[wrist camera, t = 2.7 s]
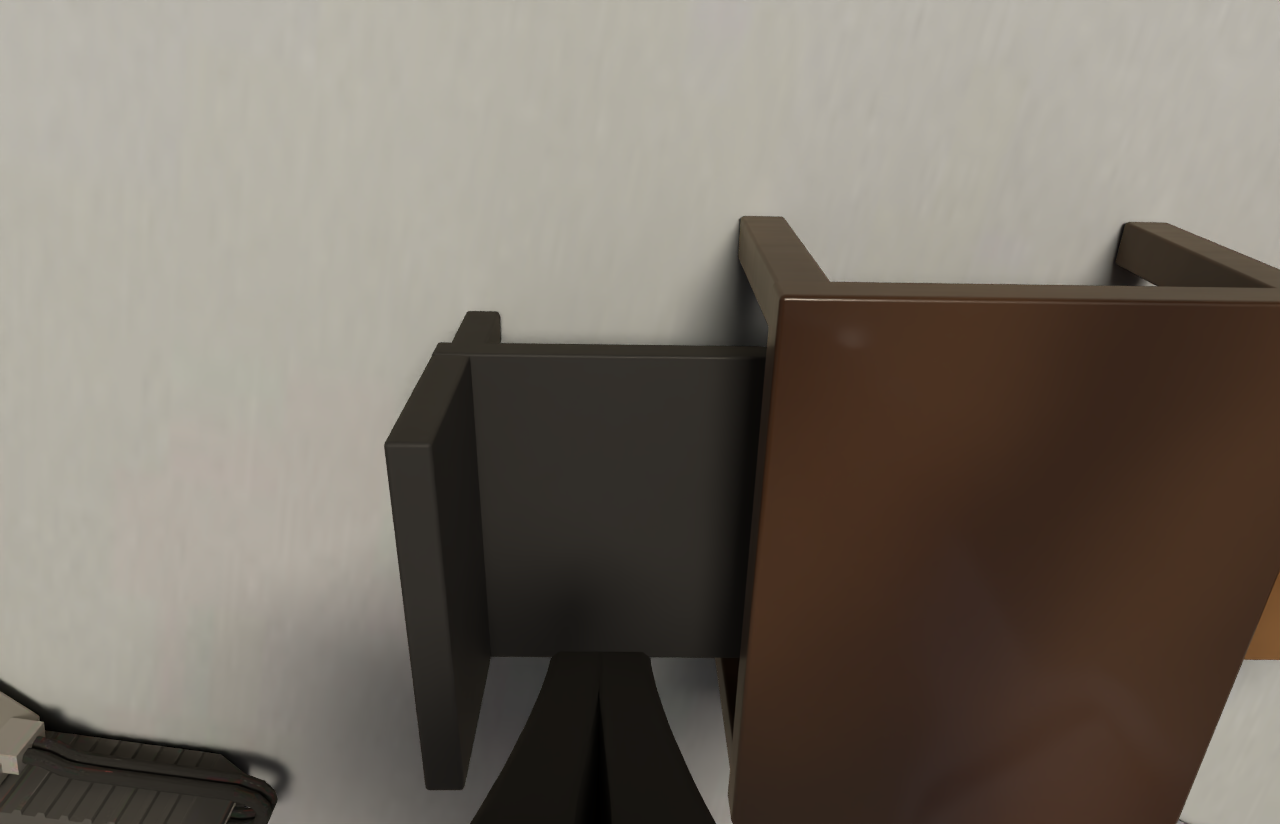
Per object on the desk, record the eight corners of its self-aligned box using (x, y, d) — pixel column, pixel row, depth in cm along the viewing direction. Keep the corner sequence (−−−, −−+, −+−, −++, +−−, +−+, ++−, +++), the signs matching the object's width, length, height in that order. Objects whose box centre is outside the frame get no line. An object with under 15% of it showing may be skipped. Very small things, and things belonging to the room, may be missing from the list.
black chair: (479, 577, 21) (424, 792, 15) (459, 303, 18) (382, 443, 12) (805, 579, 21) (871, 792, 16) (838, 308, 18) (935, 448, 13)
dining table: (1174, 217, 18) (1391, 304, 13) (1053, 641, 23) (1177, 827, 17) (735, 210, 18) (780, 295, 13) (707, 639, 22) (731, 826, 17)
